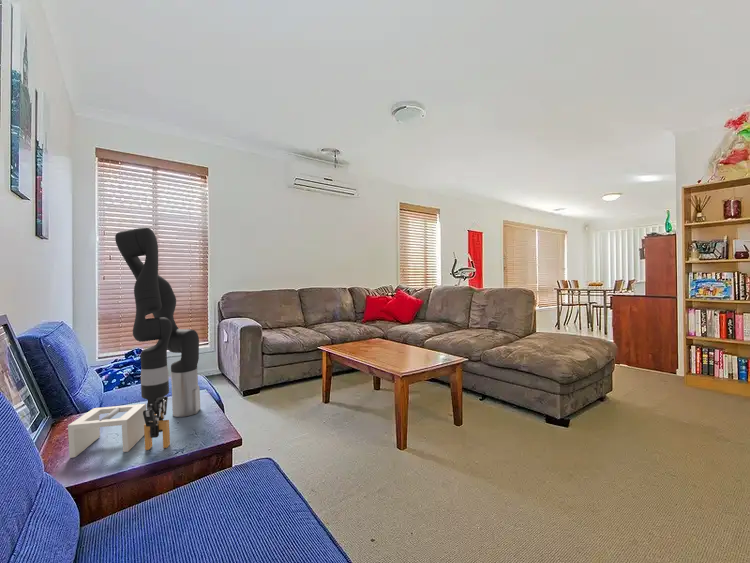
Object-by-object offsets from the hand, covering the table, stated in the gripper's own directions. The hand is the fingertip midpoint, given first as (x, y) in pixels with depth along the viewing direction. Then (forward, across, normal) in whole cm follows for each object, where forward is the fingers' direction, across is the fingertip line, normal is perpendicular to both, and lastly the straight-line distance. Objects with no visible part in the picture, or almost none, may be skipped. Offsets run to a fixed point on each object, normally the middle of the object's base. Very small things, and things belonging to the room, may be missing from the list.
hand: (157, 434), depth 116 cm
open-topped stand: (+4, +6, +16) cm, 18 cm away
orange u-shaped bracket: (+4, 0, 0) cm, 4 cm away
